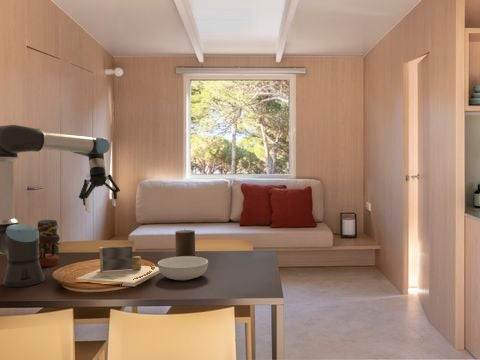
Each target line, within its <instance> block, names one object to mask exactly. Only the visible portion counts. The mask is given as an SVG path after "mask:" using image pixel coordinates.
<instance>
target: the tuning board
mask: <svg viewBox="0 0 480 360" xmlns="http://www.w3.org/2000/svg"><path fill="white" fill-rule="evenodd" d="M154 267H155V269H154V270H152V269H151V267H150V266H149V265H141V269H138V270H133V269H130V270H114V271H103V272H100V268H99V269H96V270H93V271H90V272H89V273H86V274H84V275H81V276H79V277H76V278H75V280H76V279H80V280H87V281H95V282H123V284H122V287H136V286H138V285H140V284H142V283H144V282H146V281H148V280H149V279H152V278H153V277H156V276H157V275H158V274H161V273H160V271H159V268H158V266H154ZM149 271H152V272H151V273H150V274H148V275H146V276H143V277H141V278H138V279H134V278H136V277H139V276H142V275H144V274H146V273H147V272H149ZM133 279H134V280H133Z"/></svg>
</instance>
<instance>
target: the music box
mask: <svg viewBox="0 0 480 360" xmlns="http://www.w3.org/2000/svg"><path fill="white" fill-rule="evenodd" d="M51 227H52V224H50V223H49V224H47V225H44V226H42V227H40V228H39V229H38V228H37V230H38V233H39V232H40V231H42V235H40V236H39V237H38V245H39V246H43V248H42V249H41V252H40V251H39V263H40V266H41V268H42V267H43V268H44V267H45V268H47V267H55V266H58V265H59V264H60V256H59V255H58V254H54V249H56V248H57V249H58V248H59V245H60V239H61V237H60V235H59V233H57V234H52V232H50V233H49V232H47V234H43V231H47V230H48V229H50V230H51ZM39 242H40V243H41V244H39ZM57 242H58V243H57ZM55 243H57V244H58V246H57V244H55ZM46 244H47V249H46ZM49 244H50V245H49ZM51 245H52V248H51ZM54 246H55V247H54ZM51 249H52V254H46V253H47V252H46V250H47V251H48V252H51Z"/></svg>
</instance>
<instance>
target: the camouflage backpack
mask: <svg viewBox="0 0 480 360" xmlns="http://www.w3.org/2000/svg"><path fill="white" fill-rule="evenodd" d="M49 223H50V224H52V227H51V230H50V229H48V230H47V231H43V234H47V232H49V233H50V232H52V234H58V233H57V231H58V221H57V220H56V219H43V220H38V222H37V229H39V228H40V227H42V226H44V225H47V224H49ZM38 235H39V236H40V235H42V231H40V232H39V231H38ZM38 243H39V244H41V243H40V242H39V241H38ZM57 243H59V241H58V242H57ZM57 243H55V244H57ZM49 245H50V244H49ZM57 246H58V249H57V248H56V249H54V254H55V255H58V254H59V244H57ZM54 247H55V246H54ZM42 248H43V246H39V251H40V252H41V249H42ZM51 248H52V245H51ZM46 249H47V244H46ZM46 252H47V253H46V254H52V249H51V252H48V251H47V250H46Z"/></svg>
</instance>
